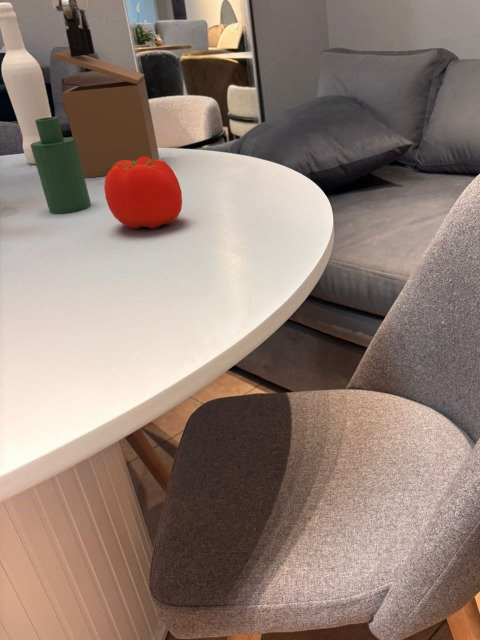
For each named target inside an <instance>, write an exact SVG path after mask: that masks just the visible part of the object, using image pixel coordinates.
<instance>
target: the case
mask: <svg viewBox="0 0 480 640" xmlns="http://www.w3.org/2000/svg"><path fill="white" fill-rule="evenodd" d="M146 85H147V84H146V81H145V78H144V79H143V80H141V81H140V82H139V83H138V84H134V83H130V82H127V81H124V80H121V81H114V82H103V83H93V84H85V85H75V86H73V87H71V88H69V89H67V90H65V91H62V93H61V96H62V100H63V103H64V108H65V112H66V116H67V120H68V123H69V128H70V132H71V135H72V138H74V139H75V142H76V146H77V150H78V154H79V158H80V162H81V166H82V170H83V174H84V178H85V179H91V178H97V177H106V176H107V174H108V172H109V171H110V170H111V169H112V167H113V166H114V165H115V164H116V163H117V162H119V161H121V160H129V161H135V162H136V161H137V160H138V159H139V158H140V157H148V158H150V159H157V160H160V154H159V148H158V144H157V143H158V142H157V137H156V133H155V129H154V123H153V116H152V112H151V107H150V101H149V96H148V90H147V86H146ZM157 160H154V161H157ZM114 163H115V164H114ZM112 164H113V165H112ZM110 165H111V166H110ZM90 177H91V178H90Z"/></svg>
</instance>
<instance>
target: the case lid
mask: <svg viewBox="0 0 480 640" xmlns="http://www.w3.org/2000/svg"><path fill="white" fill-rule="evenodd" d="M53 59H56V60H59V61H62V62H65V63H69V64H71V65H75V66H77V67H81V68H84V69H87V70H91V71H94V72H96V73H99V74H103V75H106V76H109V77H112V78H116V79H119V80H121V81H127V82H130V83H134V84H138V83H139V82H140V81H141V80H143V79H144V80H145V74H144V73H142V72H138V71H136V70H132V69H129V68H125V67H123V66H120V65H117V64H115V63H114V64H113V63H110V62H107V61H104V60H101V59H98V58H95V57H92V56H89V55H82V56H72V55H71V52H70V49H67V50H63V51H62V50H61V51H58V52H54V53H53Z"/></svg>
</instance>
